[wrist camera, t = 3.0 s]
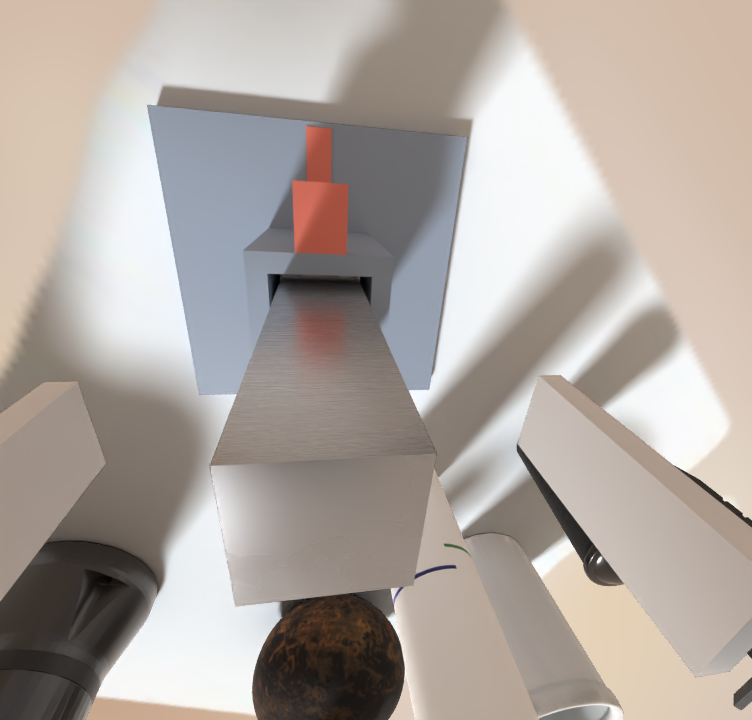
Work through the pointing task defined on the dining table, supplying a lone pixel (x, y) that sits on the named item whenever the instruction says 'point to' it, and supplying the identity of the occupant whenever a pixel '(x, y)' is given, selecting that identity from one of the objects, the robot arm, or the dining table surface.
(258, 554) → the column
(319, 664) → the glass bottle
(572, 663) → the utensil holder
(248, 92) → the dining table surface
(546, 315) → the dining table surface
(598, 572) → the drinking cup
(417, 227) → the stand
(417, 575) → the cylindrical container
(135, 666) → the dining table surface
